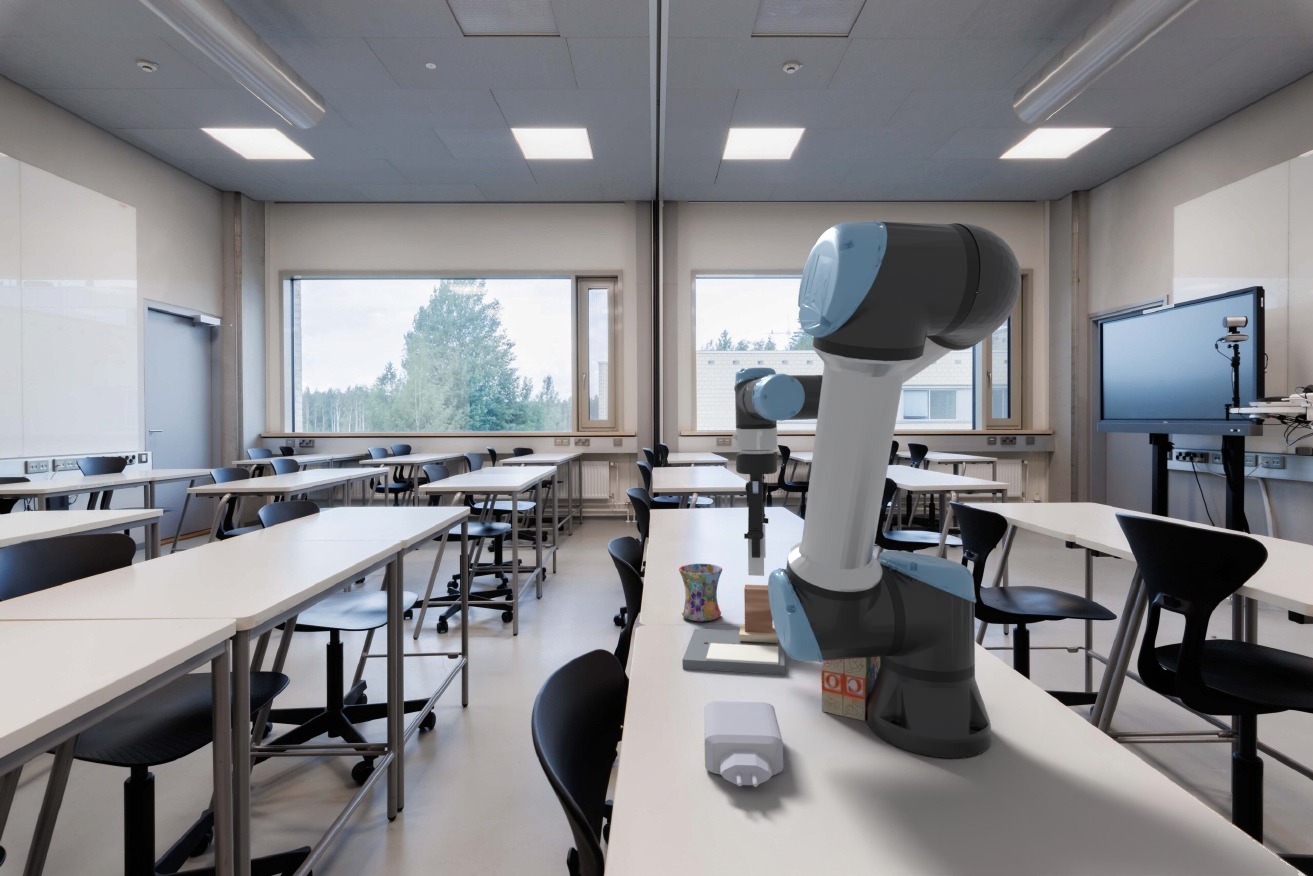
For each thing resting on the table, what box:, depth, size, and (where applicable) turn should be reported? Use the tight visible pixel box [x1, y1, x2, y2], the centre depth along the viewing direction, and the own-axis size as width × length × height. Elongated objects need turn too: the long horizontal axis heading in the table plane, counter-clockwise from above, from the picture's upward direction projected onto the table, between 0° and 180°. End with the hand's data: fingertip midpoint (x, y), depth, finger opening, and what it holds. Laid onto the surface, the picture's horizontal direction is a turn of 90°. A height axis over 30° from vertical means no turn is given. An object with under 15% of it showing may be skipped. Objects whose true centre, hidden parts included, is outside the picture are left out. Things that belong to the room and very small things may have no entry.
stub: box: [739, 584, 778, 643], centre depth 113 cm, size 6×7×9 cm
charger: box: [704, 700, 784, 788], centre depth 73 cm, size 5×9×15 cm
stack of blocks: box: [821, 657, 880, 721], centre depth 94 cm, size 21×6×12 cm, turn 149°
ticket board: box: [681, 628, 786, 676], centre depth 109 cm, size 16×17×2 cm
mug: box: [678, 563, 723, 622], centre depth 132 cm, size 12×9×11 cm
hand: (757, 565), depth 113 cm, fingers open, 13 cm apart
